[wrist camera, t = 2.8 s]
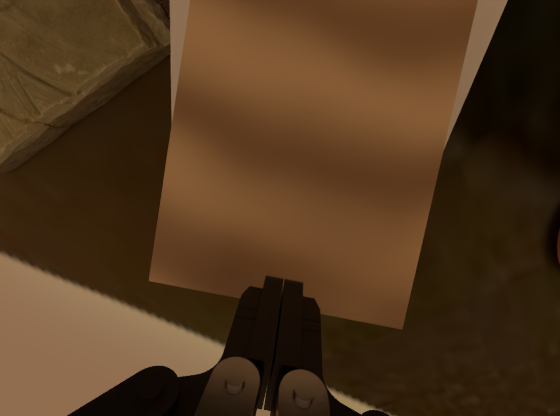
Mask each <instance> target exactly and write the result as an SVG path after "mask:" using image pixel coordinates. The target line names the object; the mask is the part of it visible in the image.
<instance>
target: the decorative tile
mask: <svg viewBox="0 0 560 416" xmlns="http://www.w3.org/2000/svg"><path fill="white" fill-rule="evenodd" d="M170 54H171V46H170V21H169V19H168V17H167V16H166V14H165V12H164V10H163V9H162V7H161V5H159V4H158V3H157V2H156V1H155V0H0V173H4V172H8V171H11V170H14V169H15V168H17V167H18V166H20V165H21V164H22V163H24V162H25V161H27V160H28V159H30V158H31V157H32V156H33V155H34V154H35V153H37V152H38V151H40V150H41V149H43V148H44V147H46V146H47V145H49V144H50V143H52V142H53V141H54V140H55V139H57V138H58V137H60V136H61V135H62V134H63V133H64V132H66V131H67V130H68V129H70V128H71V127H72V125H74V124H76V123H77V122H78V121H80V120H81V119H83V118H84V117H86V116H87V115H88V114H90V113H91V112H93V111H94V110H96V109H97V108H99V107H101V106H102V105H103V104H105V103H106V102H108V101H109V100H110V99H111V98H113V97H114V96H115V95H116V94H118V93H119V92H120V91H122V90H123V89H124V88H125V87H127V86H128V85H129V84H130V83H132V82H133V81H135V80H136V79H137V78H139V77H140V76H142V75H143V74H145V73H146V72H147V71H148V70H150V69H151V68H152V67H154V66H155V65H157V64H158V63H159V62H160V61H162V60H163V59H164V58H165V57H167V56H168V55H170Z"/></svg>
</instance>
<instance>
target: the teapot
mask: <svg viewBox="0 0 560 416" xmlns="http://www.w3.org/2000/svg"><path fill="white" fill-rule="evenodd" d="M557 254H558V261H559V264H560V229H559V233H558V240H557Z"/></svg>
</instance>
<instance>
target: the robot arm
mask: <svg viewBox="0 0 560 416" xmlns="http://www.w3.org/2000/svg"><path fill="white" fill-rule="evenodd" d="M283 280H284V279H283V278H278V277H273V276H268V275H266V276H265V281H264V285H263V288H258V287H253V286H249V287H248V288H247V289H246V290H245V291H244V293H243V294H242V295H241V298H240V301H239V304H238V308H237V311H236V314H235V317H234V320H233V324H232V327H231V330H230V333H229V336H228V339H227V343H226V346H225V349H224V352H223V355H222V357H221V359H220V361H219V362H218V363H217V364H216V365H215V366H214V367H213V368H211V369H210V370H208V371H206V372H204V373H201V374H197V375H190V376H183V377H177V375H176V373H175V372H174V371H173V370H171V369H170V368H167V367H164V366H152V367H148V368H145V369H143V370H141V371H139V372H138V373H136V374H135V375H133V376H131V377H130V378H128V379H126V380H125V381H123V382H121V383H120V384H118V385H117V386H115V387H113V388H112V389H110V390H108V391H107V392H105V393H103V394H102V395H100V396H99V397H97V398H95V399H94V400H92V401H90V402H89V403H87V404H85V405H84V406H82V407H80V408H79V409H78V410H76V411H74V412H72V413H71V414H69V415H68V416H256V411H257V409H262V406H263V401H264V397H265V393H266V398H265V405H264V410H268V411H271V414H270V416H389V415H388V414H386V413H384V412H381V411H377V410H369V411H366V412H364V413H363V414H362V415H361V414H359V413H357V412H356V411H354V410H352V409H350V408H349V407H347V406H345V405H343V404H342V403H340V402H339V401H338V400H337V399H335V398H334V397H333V396H332V394H331V393H330V392H329V390H328V389H327V387H326V385H325V383H324V379H323V374H322V348H321V324H320V322H321V318H320V308H319V306H318V304H317V302H316V300H315V298H310V297H305V296H303V282H299V281H294V280H289V279H285V281H284V286H283ZM282 288H283V290H282ZM266 388H267V391H266Z"/></svg>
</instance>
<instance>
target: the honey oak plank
mask: <svg viewBox="0 0 560 416" xmlns="http://www.w3.org/2000/svg"><path fill="white" fill-rule="evenodd" d="M477 2H478V0H190V5H189V12H188V18H187V25H186V32H185V39H184V45H183V52H182V59H181V66H180V72H179V79H178V86H177V93H176V100H175V106H174V113H173V120H172V127H171V133H170V140H169V147H168V154H167V161H166V167H165V174H164V181H163V188H162V194H161V201H160V208H159V215H158V222H157V228H156V235H155V242H154V249H153V255H152V262H151V269H150V276H149V281H152V282H157V283H162V284H167V285H173V286H178V287H183V288H188V289H193V290H199V291H204V292H209V293H214V294H220V295H225V296H230V297H235V298H241V295H242V294H243V293H244V291H245V290H246V289H247V288H248V287H249V286H253V287H258V288H263V285H264V281H265V276H266V275H268V276H273V277H278V278H283V279H284V280H283V286H284V281H285V279H289V280H294V281H299V282H303V296H305V297H310V298H315V300H316V302H317V304H318V306H319V308H320V314H324V315H329V316H334V317H340V318H345V319H350V320H355V321H361V322H366V323H371V324H376V325H381V326H387V327H392V328H397V329H402V328H403V324H404V320H405V315H406V311H407V307H408V302H409V298H410V293H411V289H412V285H413V280H414V276H415V272H416V267H417V263H418V259H419V254H420V250H421V246H422V241H423V237H424V233H425V228H426V224H427V220H428V215H429V211H430V207H431V202H432V198H433V193H434V189H435V185H436V180H437V176H438V172H439V167H440V163H441V159H442V154H443V150H444V146H445V141H446V137H447V133H448V128H449V124H450V120H451V115H452V111H453V107H454V102H455V98H456V93H457V89H458V85H459V80H460V76H461V72H462V67H463V63H464V59H465V54H466V50H467V46H468V41H469V37H470V33H471V28H472V24H473V20H474V15H475V11H476V7H477ZM282 290H283V288H282Z"/></svg>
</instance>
